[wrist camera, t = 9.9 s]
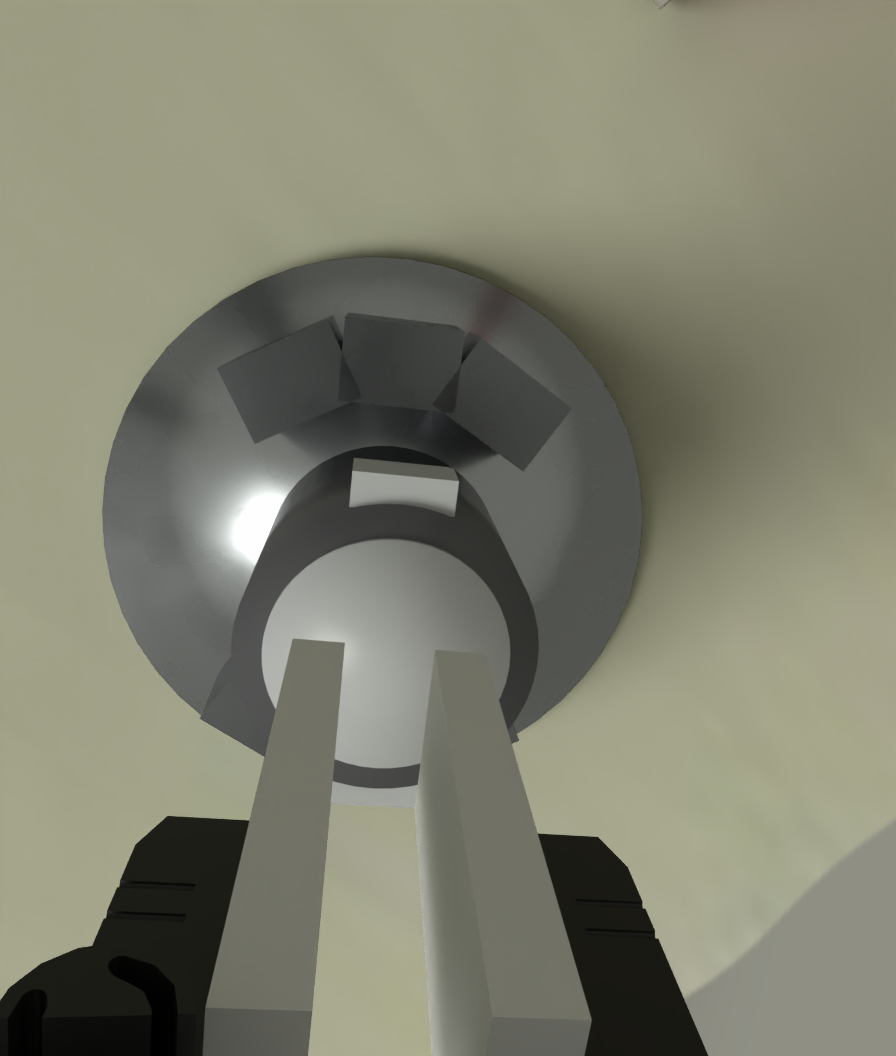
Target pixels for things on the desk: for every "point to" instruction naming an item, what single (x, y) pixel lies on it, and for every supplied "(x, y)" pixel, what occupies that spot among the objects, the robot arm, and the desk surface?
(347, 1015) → the desk surface
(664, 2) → the smartphone
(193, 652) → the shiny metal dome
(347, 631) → the dark grey short cylinder
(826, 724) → the desk surface
